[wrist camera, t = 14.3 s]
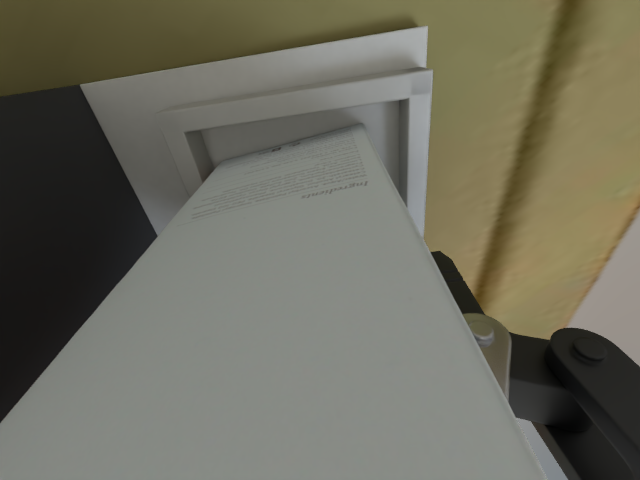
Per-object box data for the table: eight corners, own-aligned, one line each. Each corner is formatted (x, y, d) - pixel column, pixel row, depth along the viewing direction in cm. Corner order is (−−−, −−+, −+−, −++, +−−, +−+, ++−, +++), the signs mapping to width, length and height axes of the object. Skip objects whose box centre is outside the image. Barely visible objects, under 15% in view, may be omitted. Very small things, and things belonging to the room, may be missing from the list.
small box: (219, 159, 13) (-400, 828, 2) (365, 118, 12) (890, 978, 1) (281, 294, 17) (207, 738, 6) (391, 272, 16) (540, 748, 5)
